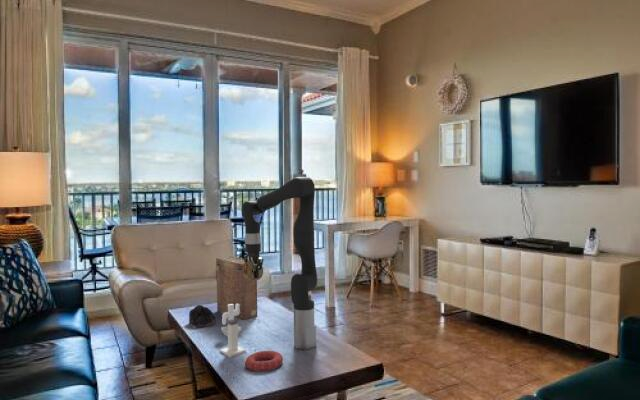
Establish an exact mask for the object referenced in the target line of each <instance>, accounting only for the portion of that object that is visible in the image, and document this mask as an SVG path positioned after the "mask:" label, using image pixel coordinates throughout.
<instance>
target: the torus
mask: <svg viewBox="0 0 640 400" xmlns="http://www.w3.org/2000/svg"><path fill="white" fill-rule="evenodd" d="M283 361H284V358H283V355H282V354H281V353H280V352H277V351H275V350H261V351H256V352H254V353H251V354H250V355H249V356H247V357H246V359H245V361H244V365H245V367H246V368H247V369H248V370H250V371H252V372H253V371H254V372H268V371H271V370H274V369H276V368H278V367H279V366H281V364H282V363H283Z"/></svg>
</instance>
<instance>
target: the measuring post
mask: <svg viewBox="0 0 640 400" xmlns="http://www.w3.org/2000/svg"><path fill="white" fill-rule="evenodd" d="M238 321H239V320H238V319H237V318H234V319H230V320H228V319H227V320H226V325H227V326H228V336H227V346H228V347H225V348H221V349H219V352H220V353H221V354H223V355H225V356H227V357H229V358H232V357H235V356H238V355H242V354H244V353H247V349H245V348H243V347H241V346H239V344H238V343H239V339H238V338H239V337H238V336H239V334H238V327H237V326H238V325H239V324H238V323H239V322H238Z"/></svg>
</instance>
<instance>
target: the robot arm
mask: <svg viewBox="0 0 640 400" xmlns="http://www.w3.org/2000/svg"><path fill="white" fill-rule="evenodd" d="M315 192H316V187H315V183H314V180H313V179H312V178H311V177H307V176H297V177H293V178H292V179H290V180H289V181H287V182H285V184H283V185H281V186H280V187H278V188H276V189H274V190H272V191H270V192H268V193H265V194H264V195H261V196H259V197H258V199H256V200H247V201H244V202H243V204H242V205H241V209H240V210H241V215H242V218H243V223H244V225H245V226H244V228H245V229H244V230H245V236H244V251H245V253H247V254H246V255H243V259H244V261H245V263H247V262H248V261H252V266H253V267H254V270H253V268H252V273H253V272H254V278H255V279H257V278H259V270H261V269H262V266H263V265H264V258H263V257H261V256H260V253H261V252H262V237H261V222H260V221H259V220H255V217H254V216H257V215H259V216H260V215H261V214H263V213H265V212H266V211H267V210H270V209H273V208H275V207H277V206H279V205H280V204H281V203H283V202H284V201H287V200H291V199H299V210H298V213H297V217H296V218H295V222H294V224H293V228H292V229H293V231H292V233H293V234H292V235H293V244H294V247H295V249H296V251H297V253H298V255H299V257H300V261H301V271H300V272H297V273H295V274H294V275H293V276H292V277H291V280H290V294H291V295H290V296H291V302H292V305H293V346H294V348H296V349H299V350H310V349H312V348H315V347H317V326H316V324H315V302H314V300H313V299H310V297H309V292H312V291H314V290H315V289H316V287H317V286H318V274H317V266H316V252H315V225H314V224H315V221H314V219H315V216H314V215H315V214H314V211H315V210H314V209H315V208H314V204H315V195H316V194H315ZM256 263H257V264H256ZM259 266H260V267H259Z"/></svg>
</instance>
